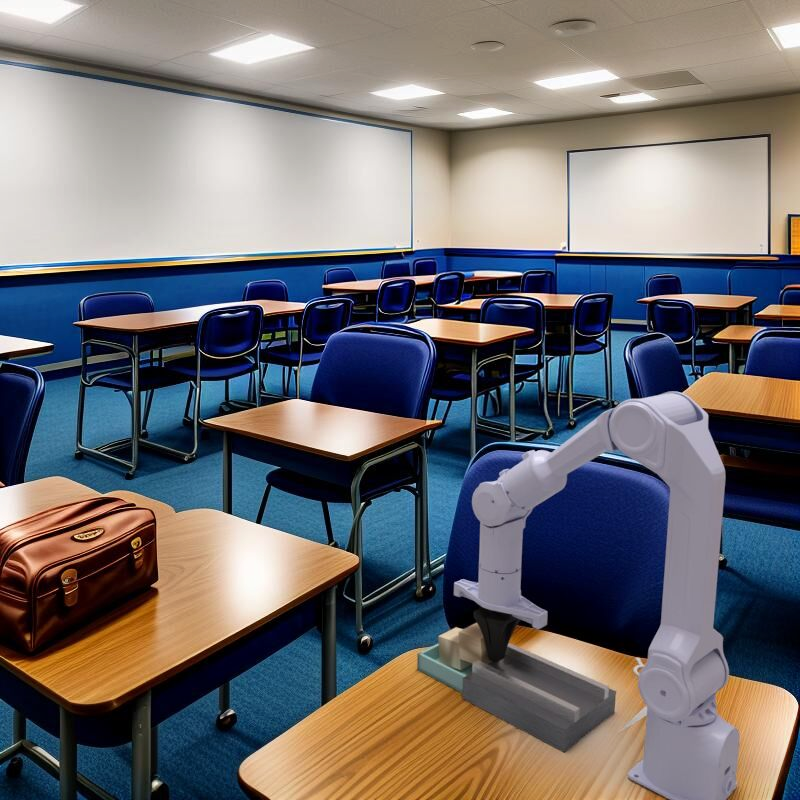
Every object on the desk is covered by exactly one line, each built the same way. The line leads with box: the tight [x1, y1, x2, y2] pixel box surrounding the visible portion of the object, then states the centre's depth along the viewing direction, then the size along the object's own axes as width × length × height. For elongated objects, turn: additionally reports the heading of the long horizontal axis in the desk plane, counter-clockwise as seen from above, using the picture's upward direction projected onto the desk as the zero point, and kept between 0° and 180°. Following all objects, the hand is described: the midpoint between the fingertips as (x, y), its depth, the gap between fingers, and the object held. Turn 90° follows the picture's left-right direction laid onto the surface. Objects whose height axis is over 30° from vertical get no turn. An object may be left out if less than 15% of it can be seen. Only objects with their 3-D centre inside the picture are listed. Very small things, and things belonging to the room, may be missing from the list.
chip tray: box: [416, 642, 490, 694], centre depth 107 cm, size 9×10×2 cm
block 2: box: [459, 622, 491, 664], centre depth 105 cm, size 4×4×4 cm
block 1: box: [437, 626, 473, 670], centre depth 108 cm, size 4×4×4 cm
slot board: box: [461, 642, 617, 753], centre depth 98 cm, size 16×12×4 cm
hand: (496, 658), depth 103 cm, fingers closed
